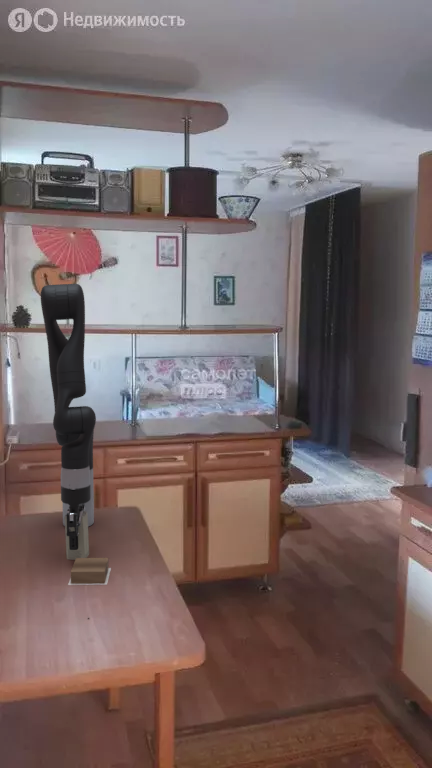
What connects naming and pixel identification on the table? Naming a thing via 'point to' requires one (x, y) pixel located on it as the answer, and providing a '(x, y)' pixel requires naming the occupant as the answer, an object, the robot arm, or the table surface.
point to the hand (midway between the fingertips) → (76, 543)
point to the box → (79, 540)
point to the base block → (89, 570)
